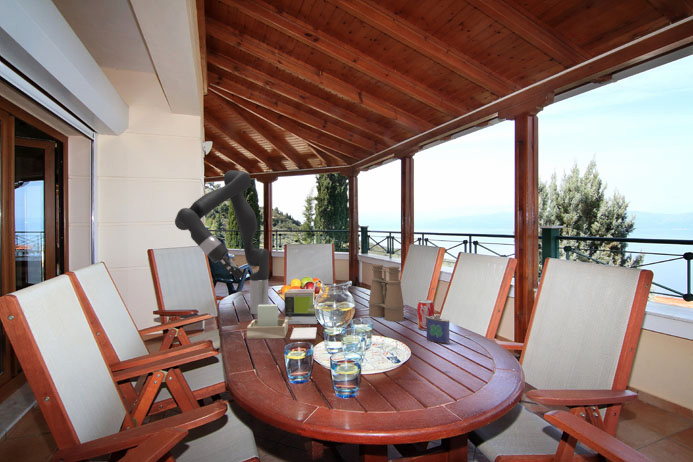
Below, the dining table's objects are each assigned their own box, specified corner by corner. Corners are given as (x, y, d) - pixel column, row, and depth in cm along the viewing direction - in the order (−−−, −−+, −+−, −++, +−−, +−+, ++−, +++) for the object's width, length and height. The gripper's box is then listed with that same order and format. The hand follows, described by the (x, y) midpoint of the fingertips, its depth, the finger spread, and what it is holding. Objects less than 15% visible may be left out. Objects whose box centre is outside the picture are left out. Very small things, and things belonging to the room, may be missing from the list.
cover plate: (259, 333, 150) (258, 304, 150) (278, 332, 150) (278, 304, 150) (257, 335, 147) (257, 306, 147) (277, 334, 147) (277, 305, 147)
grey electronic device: (320, 319, 172) (320, 288, 171) (316, 324, 162) (316, 292, 161) (290, 318, 173) (289, 288, 173) (284, 324, 163) (283, 292, 163)
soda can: (416, 330, 152) (415, 302, 151) (419, 325, 158) (418, 298, 158) (432, 332, 149) (432, 303, 149) (435, 327, 156) (435, 300, 155)
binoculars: (364, 314, 179) (363, 265, 178) (378, 311, 185) (377, 263, 185) (395, 323, 163) (394, 268, 162) (409, 319, 169) (408, 266, 169)
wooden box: (253, 330, 154) (253, 319, 154) (288, 329, 155) (288, 318, 155) (246, 338, 142) (246, 327, 142) (284, 337, 143) (284, 326, 143)
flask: (450, 343, 135) (450, 315, 135) (447, 345, 133) (447, 316, 132) (428, 338, 141) (428, 311, 140) (424, 340, 138) (424, 313, 138)
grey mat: (293, 329, 155) (293, 327, 155) (316, 328, 156) (316, 327, 156) (290, 339, 141) (290, 338, 141) (315, 338, 142) (315, 337, 142)
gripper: (218, 242, 140) (246, 272, 142) (223, 242, 154) (249, 269, 156) (203, 255, 139) (232, 285, 141) (210, 254, 153) (236, 281, 155)
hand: (241, 277), depth 148 cm, fingers open, 8 cm apart
